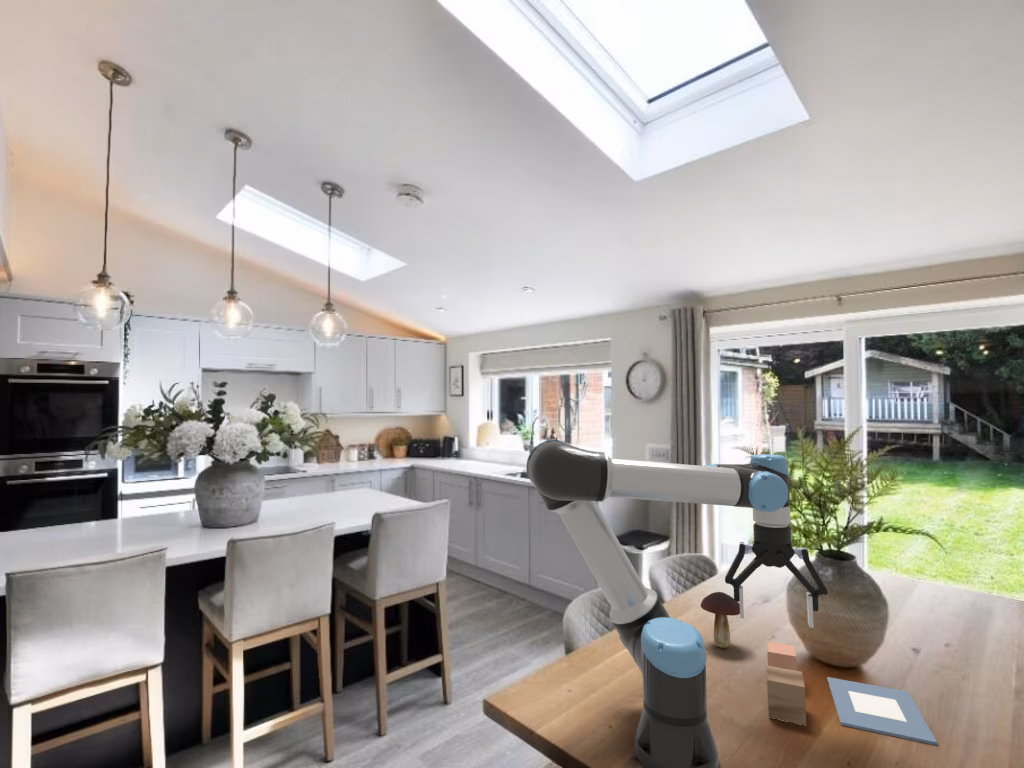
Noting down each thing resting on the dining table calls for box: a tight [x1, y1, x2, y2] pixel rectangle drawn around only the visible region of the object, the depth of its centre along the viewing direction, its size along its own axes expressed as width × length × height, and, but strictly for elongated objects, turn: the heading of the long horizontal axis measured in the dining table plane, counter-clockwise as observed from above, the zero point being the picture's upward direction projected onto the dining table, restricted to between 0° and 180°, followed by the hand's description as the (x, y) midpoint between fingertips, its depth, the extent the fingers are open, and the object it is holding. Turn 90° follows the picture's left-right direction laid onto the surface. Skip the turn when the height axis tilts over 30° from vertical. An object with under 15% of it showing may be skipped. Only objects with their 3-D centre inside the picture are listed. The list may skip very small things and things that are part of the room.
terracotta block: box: [766, 641, 798, 671], centre depth 123 cm, size 6×6×8 cm
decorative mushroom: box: [700, 591, 740, 649], centre depth 141 cm, size 11×11×15 cm
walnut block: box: [765, 664, 808, 726], centre depth 110 cm, size 7×7×8 cm
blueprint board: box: [826, 676, 938, 746], centre depth 111 cm, size 20×16×1 cm
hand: (775, 620), depth 112 cm, fingers open, 13 cm apart
